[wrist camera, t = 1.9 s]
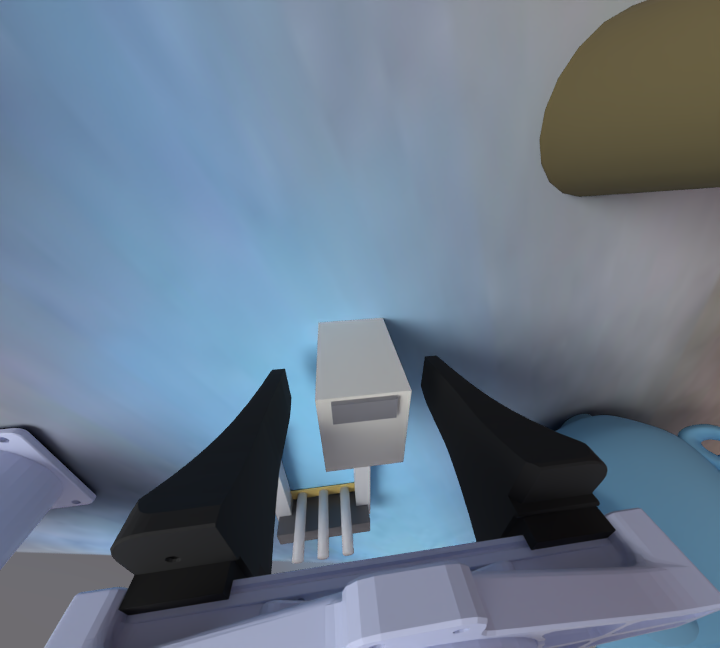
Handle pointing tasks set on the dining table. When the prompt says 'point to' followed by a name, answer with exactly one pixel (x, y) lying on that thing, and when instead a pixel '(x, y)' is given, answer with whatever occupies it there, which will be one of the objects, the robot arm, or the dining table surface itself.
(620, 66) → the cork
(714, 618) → the decorative pot
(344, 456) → the plug block
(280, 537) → the socket
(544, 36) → the dining table surface
